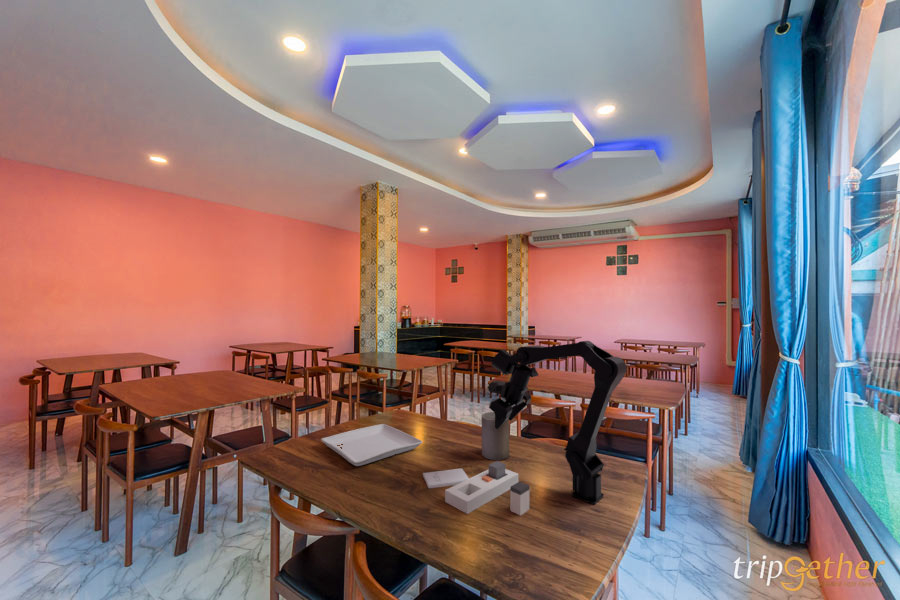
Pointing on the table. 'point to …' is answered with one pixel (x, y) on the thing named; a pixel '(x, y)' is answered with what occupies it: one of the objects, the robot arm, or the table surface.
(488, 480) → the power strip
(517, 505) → the cream plug
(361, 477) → the table surface
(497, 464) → the charcoal plug
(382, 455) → the square plate
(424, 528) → the table surface
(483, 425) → the pillar candle
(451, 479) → the external hard drive
